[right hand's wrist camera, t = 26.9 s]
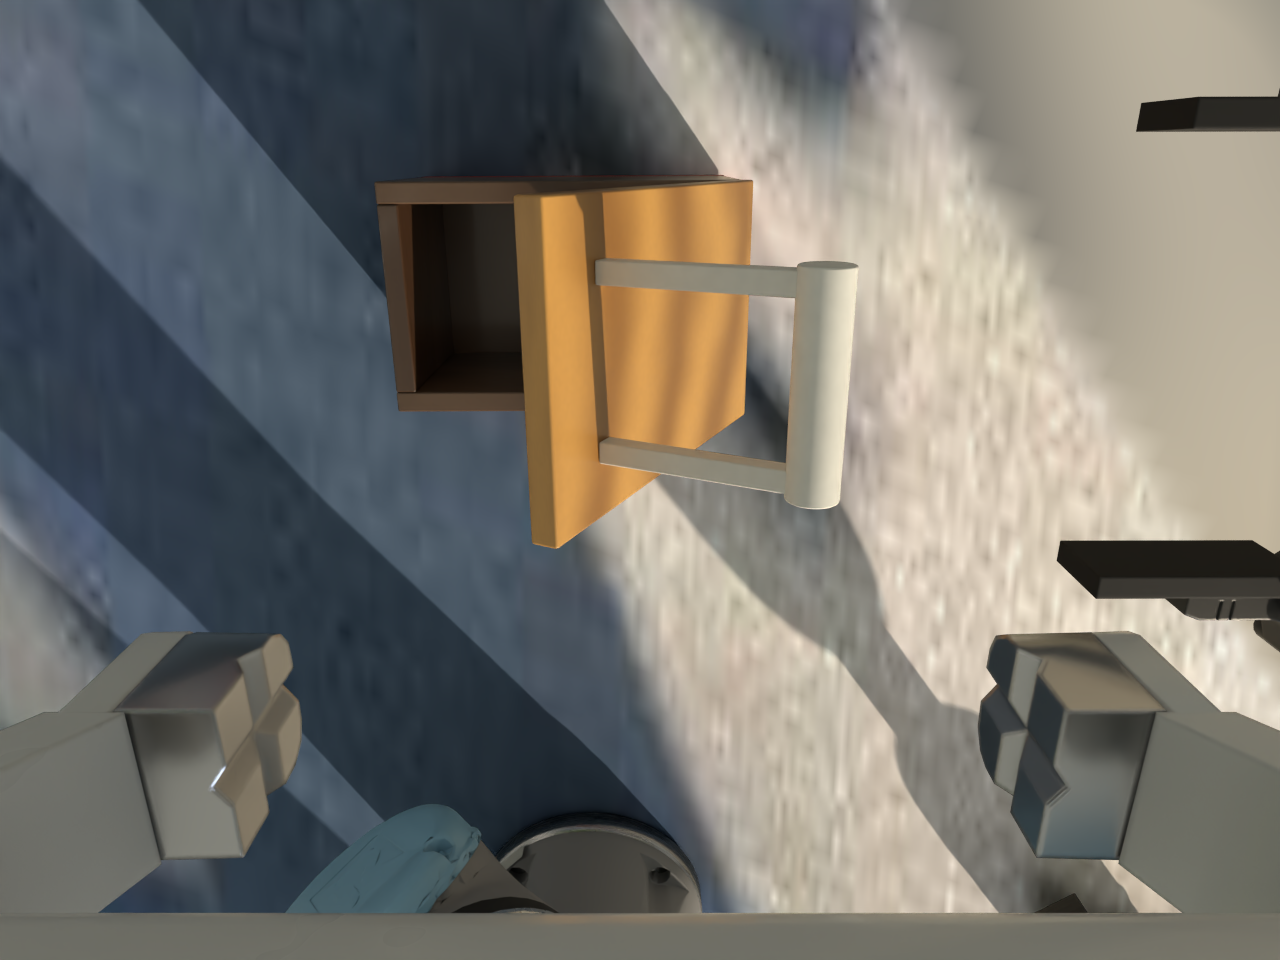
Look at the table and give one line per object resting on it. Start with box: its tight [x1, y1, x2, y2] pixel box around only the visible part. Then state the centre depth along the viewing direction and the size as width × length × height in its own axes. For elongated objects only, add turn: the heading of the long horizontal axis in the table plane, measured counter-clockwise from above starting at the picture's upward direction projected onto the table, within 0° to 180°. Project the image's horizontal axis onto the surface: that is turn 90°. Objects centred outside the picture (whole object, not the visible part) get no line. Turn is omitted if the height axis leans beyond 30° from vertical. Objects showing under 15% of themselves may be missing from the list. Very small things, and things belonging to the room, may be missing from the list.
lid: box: [514, 180, 858, 548], centre depth 28 cm, size 16×10×8 cm
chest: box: [374, 175, 740, 411], centre depth 41 cm, size 15×10×9 cm, turn 90°
